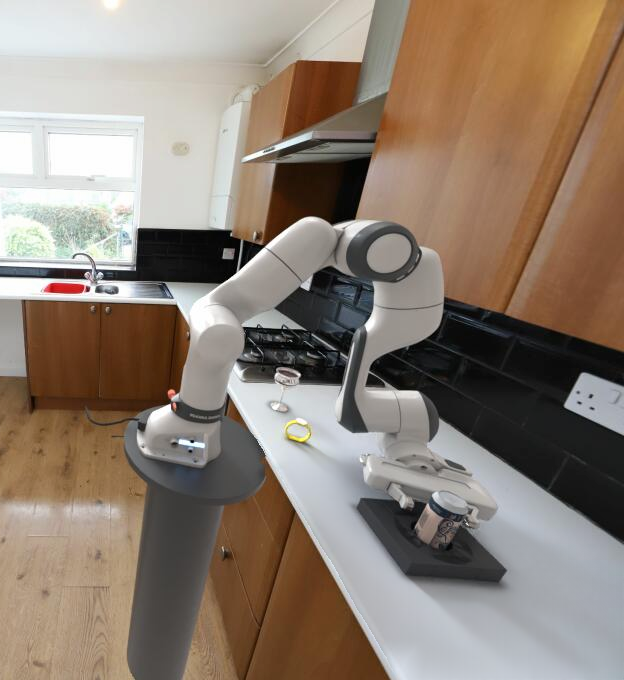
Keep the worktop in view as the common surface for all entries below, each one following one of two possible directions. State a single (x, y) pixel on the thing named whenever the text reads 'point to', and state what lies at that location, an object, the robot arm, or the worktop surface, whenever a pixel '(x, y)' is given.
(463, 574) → the base
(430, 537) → the beer can
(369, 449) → the worktop surface
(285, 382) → the wineglass
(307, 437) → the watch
